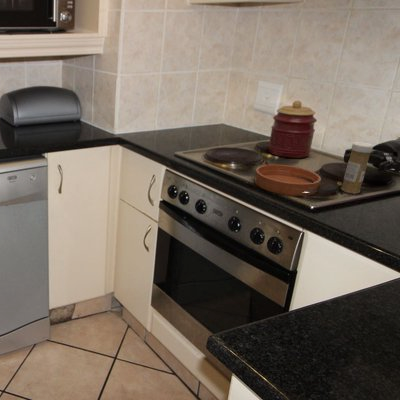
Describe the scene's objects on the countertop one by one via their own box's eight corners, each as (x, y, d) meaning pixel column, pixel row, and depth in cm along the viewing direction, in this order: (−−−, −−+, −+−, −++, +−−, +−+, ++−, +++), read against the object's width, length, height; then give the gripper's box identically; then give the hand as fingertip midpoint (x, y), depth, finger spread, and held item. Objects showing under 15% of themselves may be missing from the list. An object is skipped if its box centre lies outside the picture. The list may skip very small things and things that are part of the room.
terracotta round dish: (329, 188, 131) (332, 177, 130) (296, 201, 123) (299, 188, 122) (275, 172, 144) (277, 161, 143) (242, 182, 136) (244, 170, 134)
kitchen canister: (318, 154, 160) (328, 101, 154) (295, 160, 154) (305, 105, 147) (281, 146, 170) (290, 96, 164) (259, 151, 164) (267, 100, 158)
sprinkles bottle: (363, 194, 128) (377, 146, 123) (347, 194, 128) (360, 146, 123) (352, 188, 132) (365, 141, 127) (336, 188, 132) (349, 141, 127)
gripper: (367, 135, 141) (338, 143, 133) (423, 147, 130) (396, 156, 122) (360, 160, 144) (332, 169, 135) (414, 173, 133) (387, 184, 124)
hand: (362, 163), depth 129 cm, fingers open, 8 cm apart
